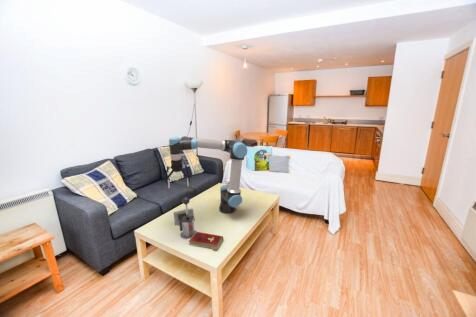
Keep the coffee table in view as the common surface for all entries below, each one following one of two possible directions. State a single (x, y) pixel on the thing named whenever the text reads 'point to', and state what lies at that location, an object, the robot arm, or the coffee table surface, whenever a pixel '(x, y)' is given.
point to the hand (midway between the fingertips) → (178, 186)
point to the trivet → (186, 237)
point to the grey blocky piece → (187, 226)
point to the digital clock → (182, 215)
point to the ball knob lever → (186, 201)
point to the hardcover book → (206, 240)
